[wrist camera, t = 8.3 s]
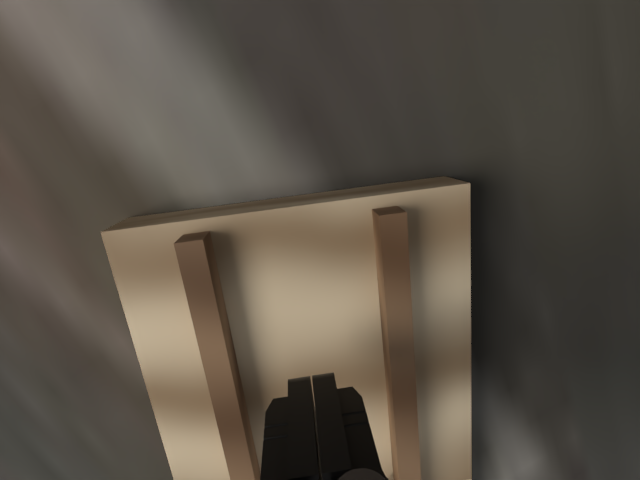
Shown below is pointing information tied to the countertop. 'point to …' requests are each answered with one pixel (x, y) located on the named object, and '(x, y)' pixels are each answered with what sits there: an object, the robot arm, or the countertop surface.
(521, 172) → the countertop surface
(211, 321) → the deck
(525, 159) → the countertop surface
